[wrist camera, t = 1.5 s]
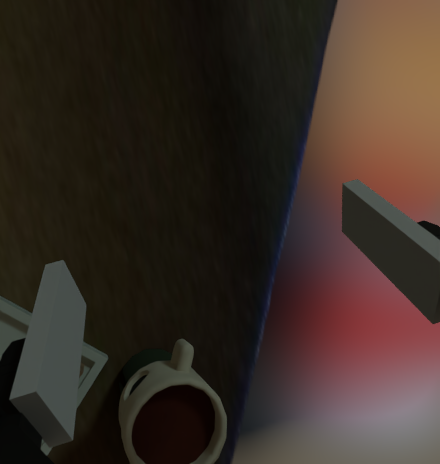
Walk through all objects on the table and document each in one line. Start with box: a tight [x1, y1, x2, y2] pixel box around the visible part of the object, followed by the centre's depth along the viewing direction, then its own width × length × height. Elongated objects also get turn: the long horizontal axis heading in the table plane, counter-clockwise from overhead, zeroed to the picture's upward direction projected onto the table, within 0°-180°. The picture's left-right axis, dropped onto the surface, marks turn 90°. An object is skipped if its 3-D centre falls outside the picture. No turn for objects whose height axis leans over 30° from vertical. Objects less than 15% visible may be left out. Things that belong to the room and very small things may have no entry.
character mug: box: [119, 339, 227, 464], centre depth 31 cm, size 11×7×13 cm, turn 167°
